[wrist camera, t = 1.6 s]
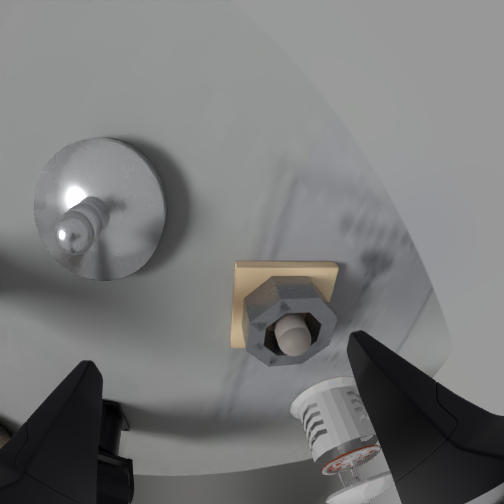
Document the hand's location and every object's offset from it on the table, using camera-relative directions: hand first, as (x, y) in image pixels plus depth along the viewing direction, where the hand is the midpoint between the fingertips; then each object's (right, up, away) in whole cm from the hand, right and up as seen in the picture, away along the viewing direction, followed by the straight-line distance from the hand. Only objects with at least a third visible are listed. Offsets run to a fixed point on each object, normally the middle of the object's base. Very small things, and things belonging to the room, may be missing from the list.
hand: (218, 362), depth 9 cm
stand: (+3, -1, +15) cm, 15 cm away
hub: (-10, +7, +9) cm, 15 cm away
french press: (+11, -16, +24) cm, 31 cm away
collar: (+4, -1, +14) cm, 15 cm away
